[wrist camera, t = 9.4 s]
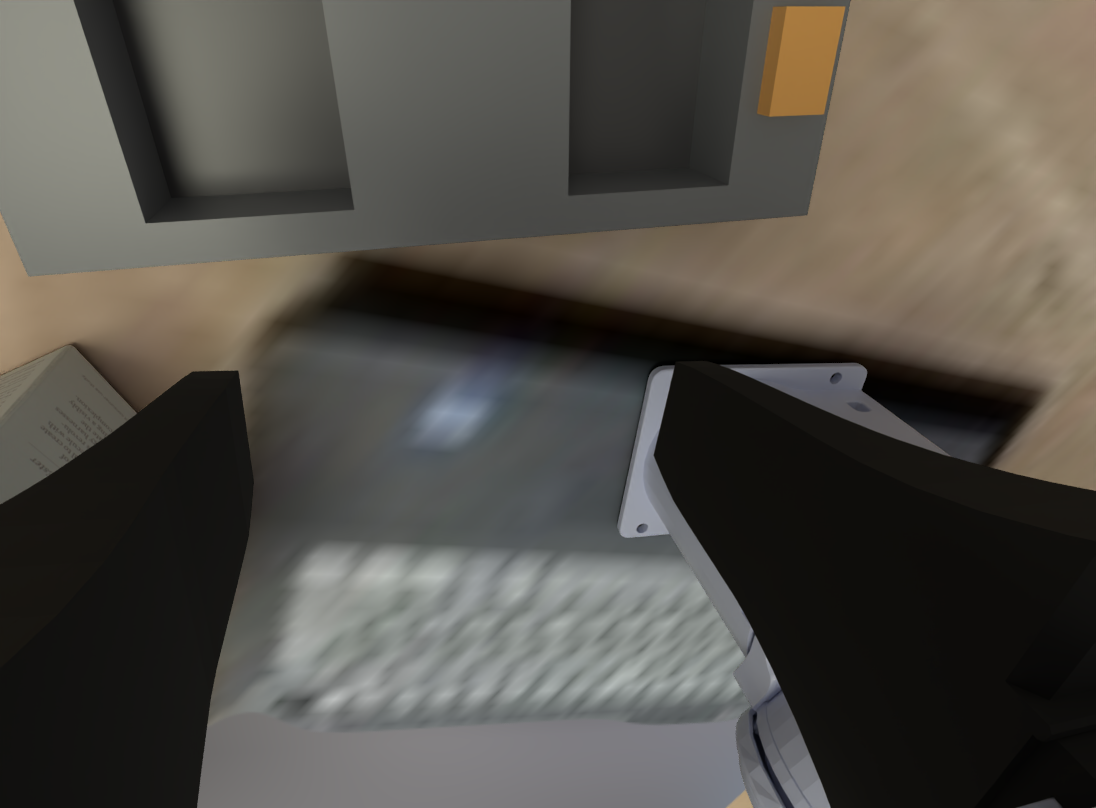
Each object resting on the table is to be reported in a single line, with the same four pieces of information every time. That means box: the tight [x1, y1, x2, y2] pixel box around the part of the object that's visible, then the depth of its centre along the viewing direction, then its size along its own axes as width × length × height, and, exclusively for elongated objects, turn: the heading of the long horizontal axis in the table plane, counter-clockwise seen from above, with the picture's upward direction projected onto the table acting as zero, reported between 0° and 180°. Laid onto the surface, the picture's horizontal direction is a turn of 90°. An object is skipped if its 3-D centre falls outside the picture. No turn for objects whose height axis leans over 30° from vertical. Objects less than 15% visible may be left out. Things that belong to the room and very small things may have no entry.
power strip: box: [0, 0, 851, 276], centre depth 16 cm, size 20×8×4 cm, turn 90°
